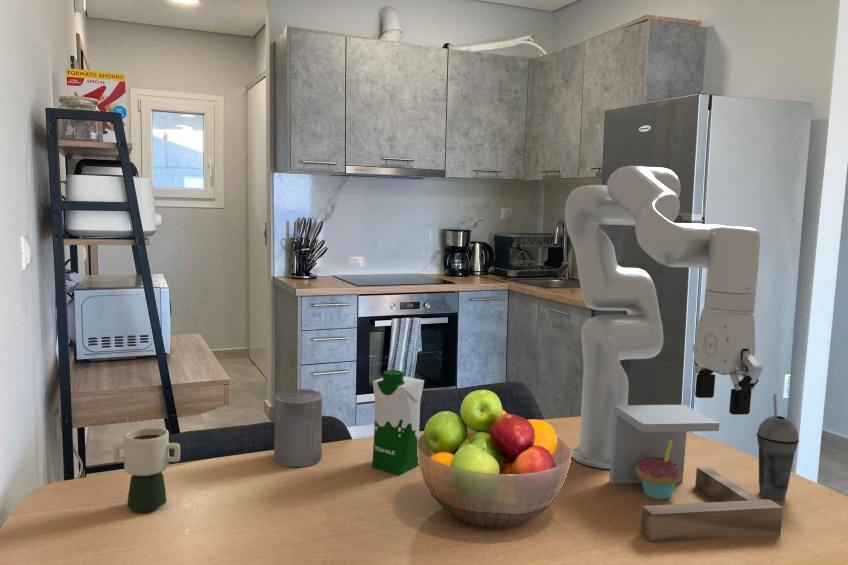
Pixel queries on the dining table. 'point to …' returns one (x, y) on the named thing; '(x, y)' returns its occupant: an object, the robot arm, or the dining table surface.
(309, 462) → the pillar candle
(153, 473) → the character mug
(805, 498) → the dining table surface
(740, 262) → the robot arm
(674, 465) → the cupcake
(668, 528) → the wooden corner bracket
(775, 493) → the beverage cup
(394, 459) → the milk carton
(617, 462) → the shelf
